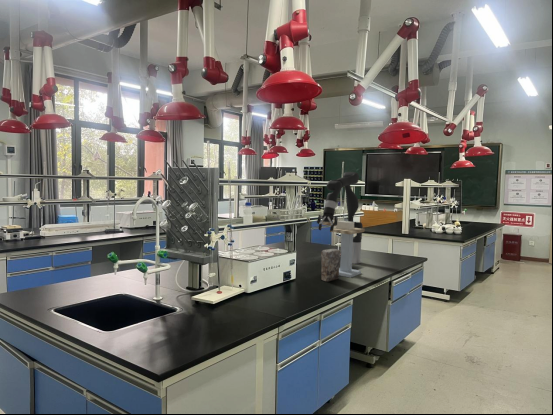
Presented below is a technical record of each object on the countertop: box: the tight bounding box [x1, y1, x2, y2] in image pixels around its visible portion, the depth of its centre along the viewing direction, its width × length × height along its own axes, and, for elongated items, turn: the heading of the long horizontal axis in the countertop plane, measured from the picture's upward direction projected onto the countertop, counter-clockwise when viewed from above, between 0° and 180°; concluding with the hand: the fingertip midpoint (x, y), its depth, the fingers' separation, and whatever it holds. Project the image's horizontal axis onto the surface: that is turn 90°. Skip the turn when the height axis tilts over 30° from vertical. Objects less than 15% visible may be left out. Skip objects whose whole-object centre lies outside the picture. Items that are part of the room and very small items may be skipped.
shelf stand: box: [329, 227, 366, 279], centre depth 272 cm, size 16×22×32 cm
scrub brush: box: [322, 220, 355, 230], centre depth 276 cm, size 23×8×5 cm, turn 53°
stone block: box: [320, 248, 341, 282], centre depth 254 cm, size 13×7×20 cm, turn 136°
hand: (325, 230), depth 262 cm, fingers open, 8 cm apart
